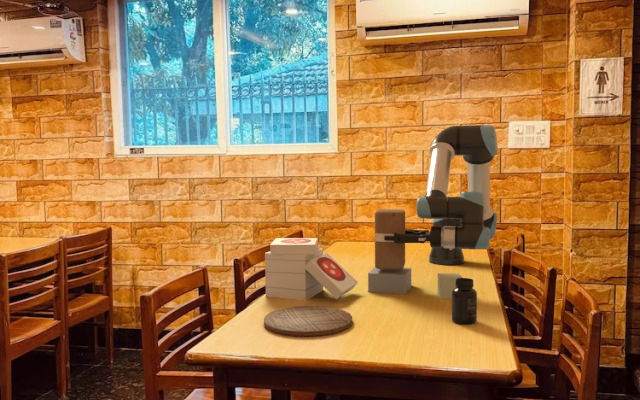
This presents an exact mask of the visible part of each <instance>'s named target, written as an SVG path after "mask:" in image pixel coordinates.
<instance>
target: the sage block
mask: <svg viewBox="0 0 640 400" xmlns="http://www.w3.org/2000/svg"><path fill="white" fill-rule="evenodd" d="M457 278H464V277H463V276H462V275H461V274H460V273H457V272H456V273H454V272H453V273H448V272H446V273H442V272H441V273H439V272H438V273H437V295H438V296H439V298H440V299H441V300H443V299H444V300H449V299H450V300H452V291H453V289H454V288H456V286H455V284H456V279H457Z"/></svg>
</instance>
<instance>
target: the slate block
mask: <svg viewBox="0 0 640 400" xmlns="http://www.w3.org/2000/svg"><path fill="white" fill-rule="evenodd" d="M367 279H368V281H367V285H368V287H367V291H368V293H380V294H381V293H383V294H398V295H399V294H400V295H406V294H407V293H408V292H409V290H410V289H411V287H412V267H405V266H404V268H403V269H401V270H399V269H377V268H376V267H375V266H374V267H373V268H372V269H371V270H370V271H369V272H368V274H367Z"/></svg>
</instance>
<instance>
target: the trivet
mask: <svg viewBox="0 0 640 400" xmlns="http://www.w3.org/2000/svg"><path fill="white" fill-rule="evenodd" d="M263 325H264V328H265V329H266V331H268V332H270V333H273V334H276V335H279V336H282V337H283V336H284V337H291V338H293V337H294V338H317V337H318V338H319V337H327V336H333V335H336V334H340V333H343V332H345V331H348V330H349V329H350V328H351V327H352V326H353V316H352V315H351V313H350V312H348V311H346V310H343V309H341V308H337V307H332V306H327V305H326V306H323V305H296V306H289V307H283V308H277V309H276V310H273V311H271V312H269V313H267V314H266V315H265V316H264V317H263Z"/></svg>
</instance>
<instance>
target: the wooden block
mask: <svg viewBox="0 0 640 400" xmlns="http://www.w3.org/2000/svg"><path fill="white" fill-rule="evenodd" d="M405 229H406V211H405V209H397V208H396V209H387V208H386V209H377V210H376V212H374V234H375V233H381V234H394V233H396V235H400V234H405ZM405 264H406V243H395V242H378V241H375V240H374V267H376V268H377V269H399V270H401V269H403V268H404V267H405Z"/></svg>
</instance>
